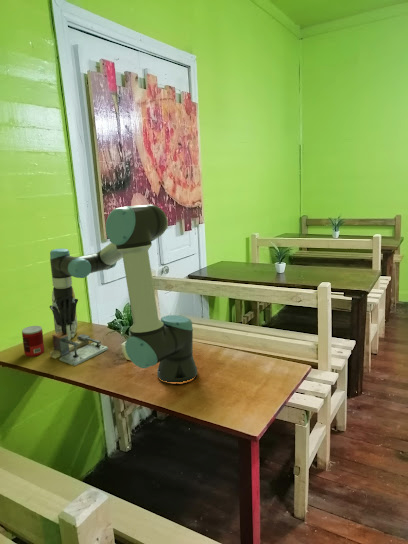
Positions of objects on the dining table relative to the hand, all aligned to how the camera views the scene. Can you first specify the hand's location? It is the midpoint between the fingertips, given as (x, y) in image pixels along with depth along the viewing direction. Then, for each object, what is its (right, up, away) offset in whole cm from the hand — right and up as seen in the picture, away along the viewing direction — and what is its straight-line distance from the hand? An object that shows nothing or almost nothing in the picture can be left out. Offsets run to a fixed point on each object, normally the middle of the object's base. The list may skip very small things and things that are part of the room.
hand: (67, 339), depth 172 cm
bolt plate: (+8, -6, -2) cm, 11 cm away
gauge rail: (+4, -6, 0) cm, 7 cm away
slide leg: (+1, -6, -4) cm, 7 cm away
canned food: (-13, -6, -1) cm, 15 cm away
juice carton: (-6, -1, +17) cm, 18 cm away
